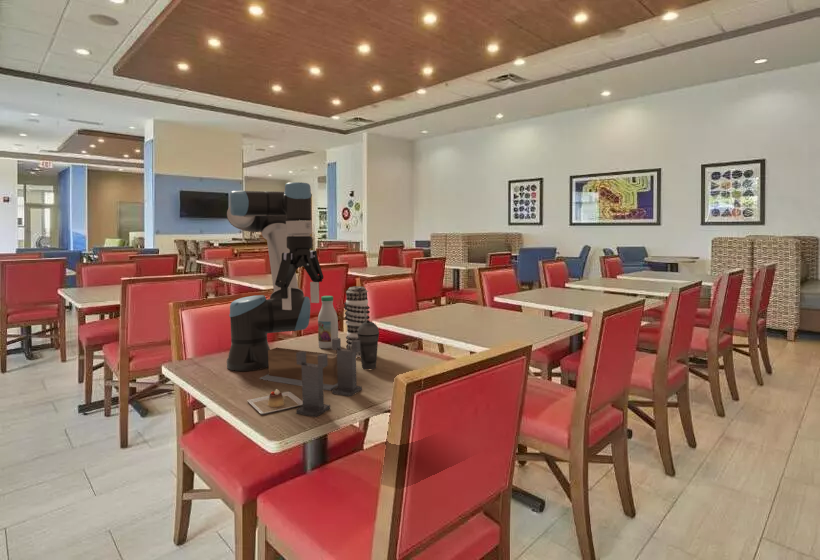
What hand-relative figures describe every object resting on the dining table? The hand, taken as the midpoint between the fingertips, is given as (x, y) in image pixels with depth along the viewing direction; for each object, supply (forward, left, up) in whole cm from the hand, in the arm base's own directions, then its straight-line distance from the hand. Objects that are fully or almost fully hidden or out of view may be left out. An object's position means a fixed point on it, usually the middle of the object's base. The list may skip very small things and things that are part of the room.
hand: (301, 306), depth 146 cm
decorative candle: (0, +32, -23) cm, 39 cm away
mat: (0, 0, -23) cm, 23 cm away
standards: (+18, -12, -23) cm, 32 cm away
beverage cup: (+12, +19, -23) cm, 32 cm away
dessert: (+6, -20, -24) cm, 31 cm away
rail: (0, 0, -22) cm, 22 cm away
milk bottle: (-17, +38, -23) cm, 47 cm away
